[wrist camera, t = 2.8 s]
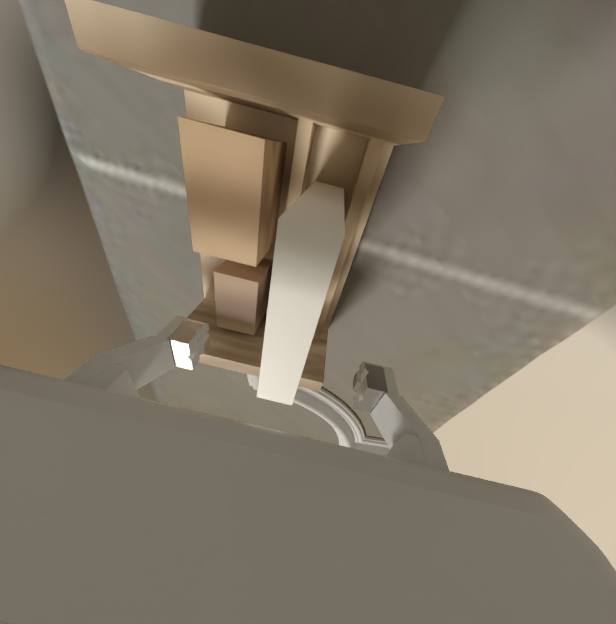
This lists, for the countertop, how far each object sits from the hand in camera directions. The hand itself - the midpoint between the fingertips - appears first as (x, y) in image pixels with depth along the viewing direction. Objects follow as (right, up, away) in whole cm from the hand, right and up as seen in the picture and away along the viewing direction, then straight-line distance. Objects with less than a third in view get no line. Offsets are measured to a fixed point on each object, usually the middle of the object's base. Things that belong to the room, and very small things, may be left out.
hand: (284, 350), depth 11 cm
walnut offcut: (-5, +5, +14) cm, 16 cm away
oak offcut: (-4, +13, +8) cm, 15 cm away
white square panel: (+2, +8, +10) cm, 13 cm away
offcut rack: (-2, +10, +12) cm, 15 cm away
